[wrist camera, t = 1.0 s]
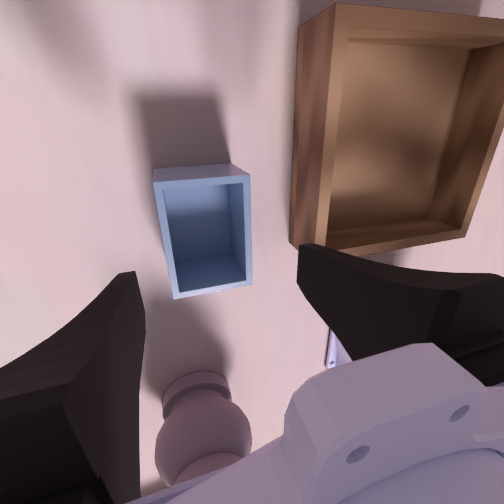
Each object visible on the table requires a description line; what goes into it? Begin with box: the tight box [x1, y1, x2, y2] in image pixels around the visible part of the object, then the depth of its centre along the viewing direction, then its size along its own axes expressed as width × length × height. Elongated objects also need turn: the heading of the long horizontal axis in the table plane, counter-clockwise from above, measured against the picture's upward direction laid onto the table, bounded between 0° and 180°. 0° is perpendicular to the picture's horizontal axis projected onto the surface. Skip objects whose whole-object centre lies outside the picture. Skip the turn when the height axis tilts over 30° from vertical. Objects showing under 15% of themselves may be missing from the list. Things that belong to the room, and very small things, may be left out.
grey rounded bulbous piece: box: [155, 371, 252, 487], centre depth 22 cm, size 8×8×12 cm
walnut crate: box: [289, 3, 504, 257], centre depth 20 cm, size 14×14×4 cm
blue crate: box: [152, 163, 253, 300], centre depth 18 cm, size 7×5×4 cm
